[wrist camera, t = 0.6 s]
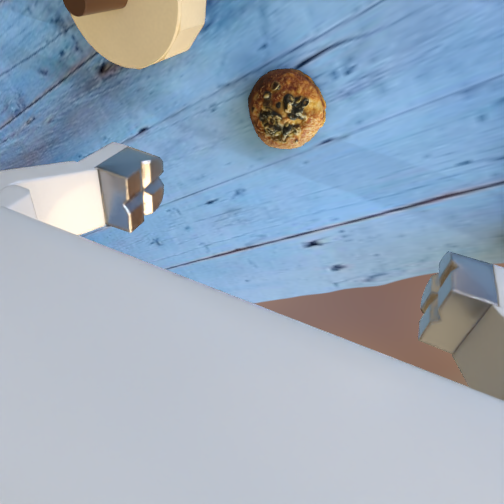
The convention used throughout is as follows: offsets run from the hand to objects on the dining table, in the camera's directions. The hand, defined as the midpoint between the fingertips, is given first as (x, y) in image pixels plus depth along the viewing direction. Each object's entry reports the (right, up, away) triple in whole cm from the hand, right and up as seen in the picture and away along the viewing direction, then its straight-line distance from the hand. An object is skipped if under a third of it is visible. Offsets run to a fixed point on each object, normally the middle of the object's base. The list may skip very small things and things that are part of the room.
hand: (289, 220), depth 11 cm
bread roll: (+4, +19, +44) cm, 49 cm away
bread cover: (-15, +34, +42) cm, 56 cm away
